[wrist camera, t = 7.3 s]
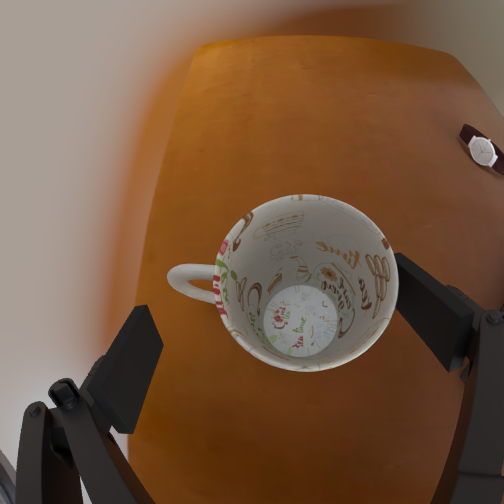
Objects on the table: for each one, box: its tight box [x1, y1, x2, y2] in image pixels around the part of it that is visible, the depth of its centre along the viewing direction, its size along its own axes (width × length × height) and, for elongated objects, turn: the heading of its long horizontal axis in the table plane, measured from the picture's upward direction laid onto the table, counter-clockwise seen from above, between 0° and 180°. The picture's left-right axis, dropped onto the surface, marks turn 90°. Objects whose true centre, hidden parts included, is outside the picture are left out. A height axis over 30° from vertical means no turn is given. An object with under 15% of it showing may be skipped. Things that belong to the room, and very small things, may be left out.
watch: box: [460, 124, 504, 175], centre depth 25 cm, size 8×5×4 cm, turn 35°
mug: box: [167, 195, 399, 372], centre depth 17 cm, size 8×13×10 cm, turn 82°
